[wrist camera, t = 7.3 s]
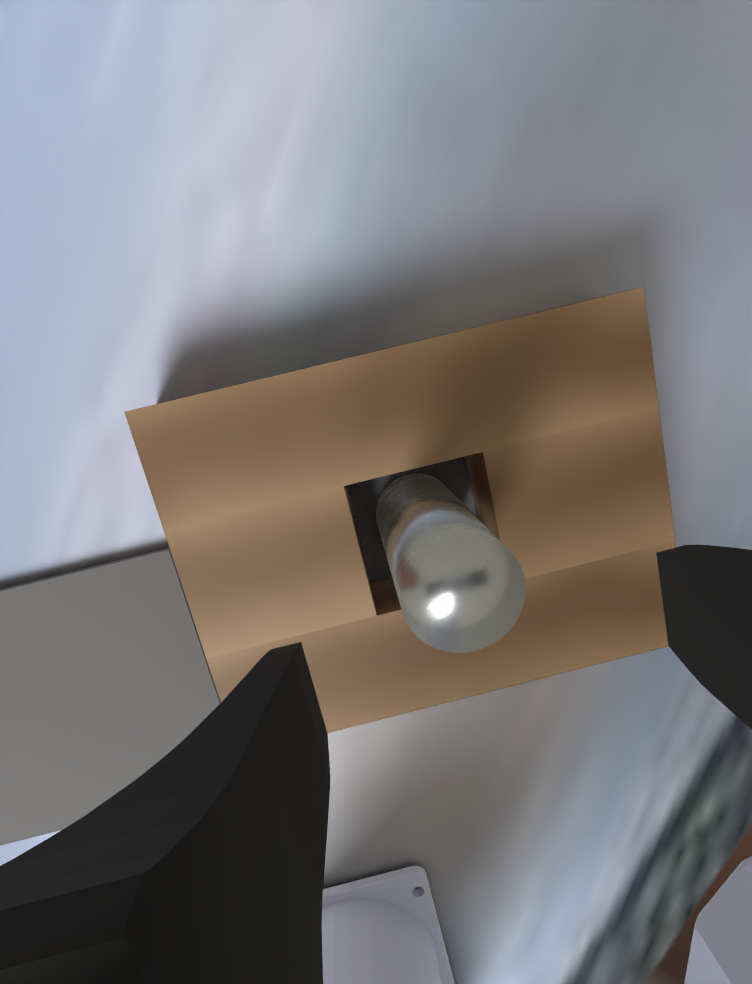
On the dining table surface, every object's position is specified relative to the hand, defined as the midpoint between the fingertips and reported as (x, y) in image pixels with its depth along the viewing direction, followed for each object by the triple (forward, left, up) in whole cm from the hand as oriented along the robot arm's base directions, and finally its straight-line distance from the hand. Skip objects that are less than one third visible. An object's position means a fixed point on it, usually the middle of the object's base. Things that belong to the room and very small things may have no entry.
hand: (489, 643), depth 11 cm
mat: (-4, +14, -10) cm, 18 cm away
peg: (0, 0, -10) cm, 10 cm away
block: (0, 0, -10) cm, 10 cm away
